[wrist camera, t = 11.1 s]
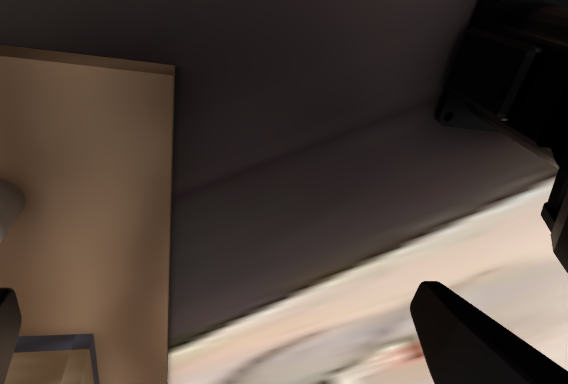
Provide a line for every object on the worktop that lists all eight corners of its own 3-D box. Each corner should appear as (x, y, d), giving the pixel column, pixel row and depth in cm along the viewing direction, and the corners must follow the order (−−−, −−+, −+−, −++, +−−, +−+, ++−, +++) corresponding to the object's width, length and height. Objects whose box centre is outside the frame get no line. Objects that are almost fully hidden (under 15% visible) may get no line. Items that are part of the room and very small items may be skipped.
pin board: (175, 65, 16) (165, 119, 11) (166, 395, 28) (160, 491, 24) (-264, 12, 13) (-553, 57, 8) (-60, 413, 25) (-123, 530, 20)
